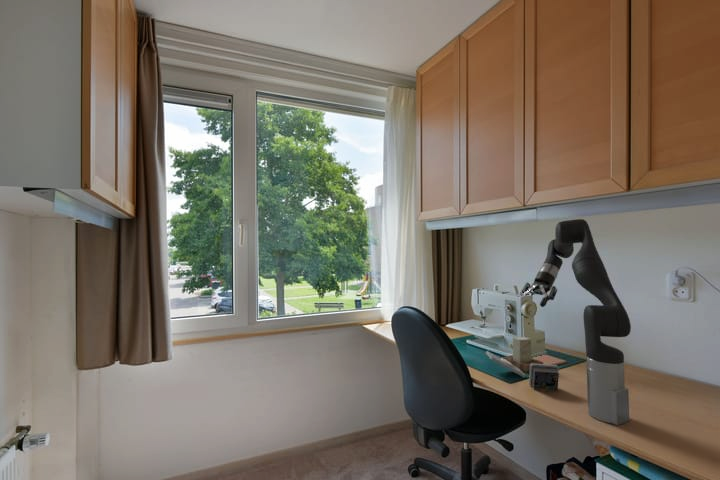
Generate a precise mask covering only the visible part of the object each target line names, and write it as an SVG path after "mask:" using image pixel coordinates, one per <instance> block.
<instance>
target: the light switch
mask: <svg viewBox="0 0 720 480" xmlns="http://www.w3.org/2000/svg"><path fill="white" fill-rule="evenodd" d="M485 354H486V355H487V356H488V357H489V359H490V360H491V361H493V362H494V363H496V364H498V365H501V366H502V367H503V368H506V369H507V370H509V371H511V372H513V373H515V374H517V375H519V376H520V377H522V378H524V379H525V378H526V376H527V375H526V373H524V372H522V371H521V370H520V369H519V368H518V367H516V366H514V365H512V363H510V362H509V361H507V360H506V359H503V357H500V356H498V355H496V354H494V353H492V352H490V351H488V350H486V352H485Z"/></svg>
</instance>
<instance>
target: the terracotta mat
mask: <svg viewBox="0 0 720 480" xmlns="http://www.w3.org/2000/svg"><path fill="white" fill-rule="evenodd" d="M532 359H535V360H538V361H541V362H543V364H550V365H557V366H559V365H563V364H567V360H565V359H561V358H558V357H555V356H551V355H548V354H545V355H542V356H537V357H533V358H532Z"/></svg>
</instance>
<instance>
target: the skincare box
mask: <svg viewBox="0 0 720 480" xmlns="http://www.w3.org/2000/svg"><path fill="white" fill-rule="evenodd" d="M512 355H513V360H514V361H517V362H520V363H524V362H529V361H531V355H532V339H531V338H530V337H525V336H516V337H512Z"/></svg>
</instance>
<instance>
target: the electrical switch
mask: <svg viewBox="0 0 720 480" xmlns="http://www.w3.org/2000/svg"><path fill="white" fill-rule="evenodd" d="M559 371H560V367H559V365H550V364H535V363H531V364H530V372H529V378H528V384H529V386H530V387H531V388H532V387H533V390H534V391H546V392H558V389H559V379H560V378H559V375H560V373H559Z"/></svg>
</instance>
